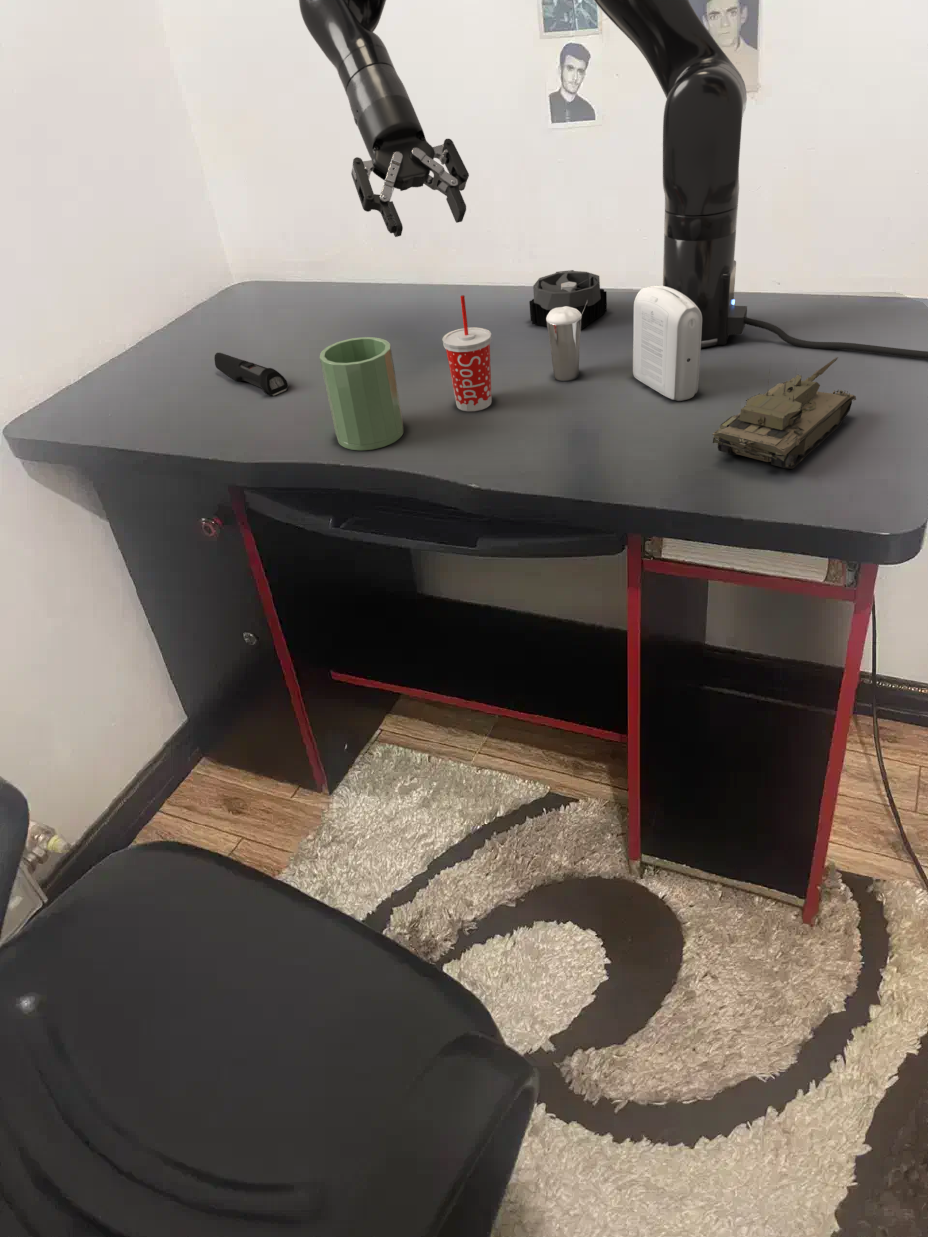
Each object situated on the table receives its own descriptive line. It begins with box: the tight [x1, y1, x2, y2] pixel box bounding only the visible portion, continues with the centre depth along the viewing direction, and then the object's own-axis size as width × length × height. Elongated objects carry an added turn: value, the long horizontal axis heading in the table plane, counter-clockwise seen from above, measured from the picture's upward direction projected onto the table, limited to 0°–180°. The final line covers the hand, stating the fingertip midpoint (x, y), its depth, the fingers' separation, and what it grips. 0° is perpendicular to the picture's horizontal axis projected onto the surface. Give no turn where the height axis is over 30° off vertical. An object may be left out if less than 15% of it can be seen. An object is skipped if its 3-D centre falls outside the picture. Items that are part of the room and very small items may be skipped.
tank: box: [711, 356, 857, 470], centre depth 100 cm, size 9×22×10 cm, turn 138°
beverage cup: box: [441, 294, 493, 412], centre depth 115 cm, size 6×6×14 cm
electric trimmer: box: [213, 352, 289, 396], centre depth 133 cm, size 4×16×3 cm, turn 44°
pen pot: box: [319, 336, 405, 451], centre depth 112 cm, size 8×8×11 cm
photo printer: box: [632, 284, 702, 402], centre depth 113 cm, size 10×4×12 cm, turn 25°
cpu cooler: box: [528, 269, 608, 329], centre depth 138 cm, size 10×6×10 cm
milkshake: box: [546, 300, 588, 382], centre depth 120 cm, size 5×5×10 cm
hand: (430, 225), depth 116 cm, fingers open, 8 cm apart
